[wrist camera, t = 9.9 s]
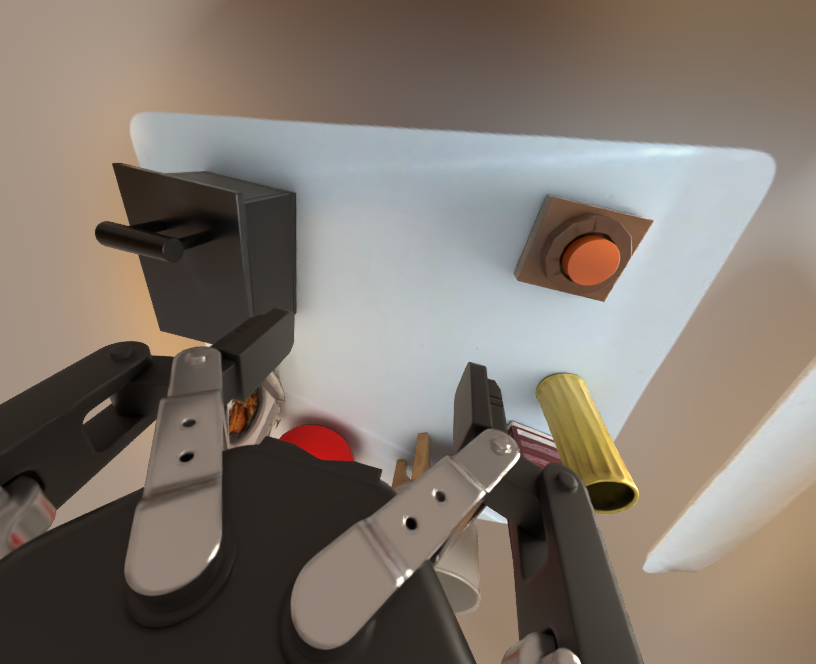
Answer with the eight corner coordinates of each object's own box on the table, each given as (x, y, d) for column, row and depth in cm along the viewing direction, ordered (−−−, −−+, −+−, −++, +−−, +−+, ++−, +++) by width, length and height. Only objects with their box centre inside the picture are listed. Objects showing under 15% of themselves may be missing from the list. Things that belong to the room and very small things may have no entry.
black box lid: (121, 162, 23) (34, 163, 19) (243, 192, 23) (187, 201, 18) (166, 327, 31) (113, 357, 27) (257, 350, 31) (220, 385, 26)
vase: (552, 414, 41) (591, 523, 29) (526, 387, 39) (555, 491, 27) (595, 394, 38) (659, 505, 26) (569, 364, 36) (623, 467, 24)
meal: (249, 339, 42) (174, 404, 31) (278, 344, 42) (212, 412, 31) (264, 413, 50) (208, 486, 39) (288, 418, 50) (239, 493, 39)
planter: (385, 437, 48) (351, 564, 33) (463, 428, 45) (465, 566, 30) (410, 485, 54) (391, 613, 39) (481, 481, 50) (491, 620, 35)
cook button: (575, 229, 26) (582, 234, 24) (620, 240, 26) (630, 246, 24) (554, 273, 28) (559, 279, 26) (596, 283, 28) (603, 290, 26)
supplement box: (494, 439, 45) (509, 560, 31) (511, 419, 42) (535, 541, 29) (545, 458, 45) (582, 586, 32) (565, 440, 43) (614, 570, 29)
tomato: (299, 400, 47) (259, 461, 38) (372, 436, 49) (351, 502, 39) (280, 440, 53) (242, 501, 44) (345, 471, 55) (322, 535, 46)
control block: (546, 194, 28) (558, 199, 24) (641, 216, 28) (667, 224, 24) (513, 273, 32) (520, 287, 29) (596, 293, 32) (612, 310, 28)
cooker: (204, 170, 31) (124, 175, 24) (296, 193, 31) (244, 204, 24) (223, 294, 39) (166, 327, 31) (296, 313, 39) (257, 350, 31)
